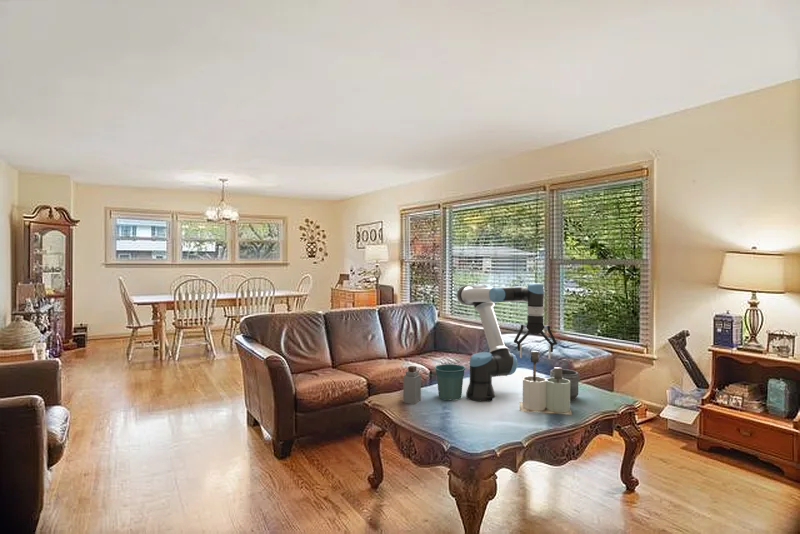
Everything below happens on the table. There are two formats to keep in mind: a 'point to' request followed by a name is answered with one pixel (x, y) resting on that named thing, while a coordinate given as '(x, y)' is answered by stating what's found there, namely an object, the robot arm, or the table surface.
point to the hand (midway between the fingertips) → (535, 358)
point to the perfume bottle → (412, 386)
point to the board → (542, 410)
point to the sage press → (558, 393)
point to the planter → (573, 379)
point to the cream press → (534, 394)
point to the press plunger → (534, 365)
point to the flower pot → (450, 381)
